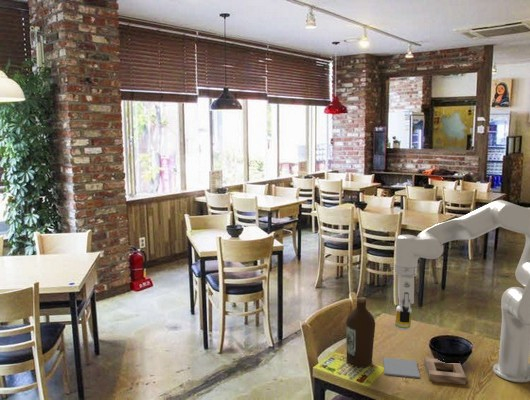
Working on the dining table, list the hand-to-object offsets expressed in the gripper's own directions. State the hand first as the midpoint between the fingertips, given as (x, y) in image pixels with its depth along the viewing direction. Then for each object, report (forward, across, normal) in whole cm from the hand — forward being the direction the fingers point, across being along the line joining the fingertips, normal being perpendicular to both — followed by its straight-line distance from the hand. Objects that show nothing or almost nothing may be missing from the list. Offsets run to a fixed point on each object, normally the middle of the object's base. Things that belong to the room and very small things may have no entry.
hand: (403, 318), depth 169 cm
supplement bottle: (+4, 0, 0) cm, 4 cm away
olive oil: (+19, +2, +15) cm, 25 cm away
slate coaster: (+19, 0, 0) cm, 19 cm away
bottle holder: (+19, -1, -15) cm, 24 cm away
